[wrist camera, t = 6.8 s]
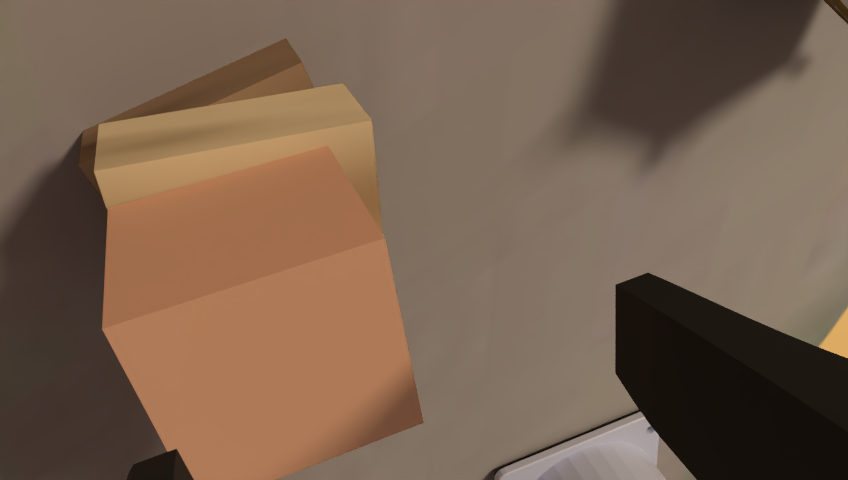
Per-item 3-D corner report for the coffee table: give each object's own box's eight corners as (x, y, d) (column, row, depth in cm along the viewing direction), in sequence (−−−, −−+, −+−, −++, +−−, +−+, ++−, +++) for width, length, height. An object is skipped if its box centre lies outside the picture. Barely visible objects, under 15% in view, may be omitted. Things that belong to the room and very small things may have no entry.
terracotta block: (367, 308, 17) (423, 422, 14) (184, 371, 16) (198, 509, 13) (328, 145, 15) (384, 238, 11) (108, 208, 14) (102, 329, 10)
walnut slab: (359, 199, 21) (382, 239, 19) (193, 280, 21) (200, 330, 19) (283, 33, 18) (302, 62, 16) (84, 124, 17) (77, 165, 15)
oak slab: (364, 270, 20) (391, 323, 18) (161, 319, 18) (166, 383, 16) (342, 83, 17) (371, 120, 15) (98, 123, 15) (93, 170, 13)
